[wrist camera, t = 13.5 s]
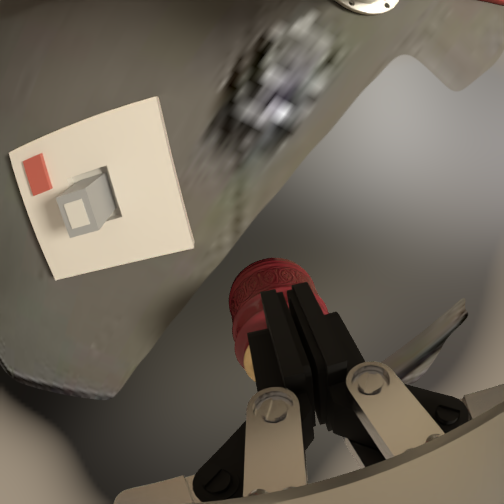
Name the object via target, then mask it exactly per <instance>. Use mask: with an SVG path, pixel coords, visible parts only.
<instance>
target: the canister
mask: <svg viewBox="0 0 504 504" xmlns="http://www.w3.org/2000/svg"><path fill="white" fill-rule="evenodd" d="M303 282H308V284H309V286H310V288H311V290H312V292H313V294H314V296H315V298H316V300H317V302H318V303H319V305H320V307H321V309H322V311H323V313H324V315H325V314H329V313H328V310H327V307H326V305H325V303H324V302H323V300H322V299H321V298H320V297H319V295H318V293H317V291H316V289H315V286H314V283H313V281H312V280H311V277H310V276H309V274H308V273H307V272H306V271H305V270H304V269H303V268H301V267H300V266H299V265H298V264H296V263H295V262H292V261H290V260H287V259H282V258H267V259H263V260H259V261H257V262H254V263H252V264H250V265H249V266H247V267H246V268H245V269H244V270H242V271H241V272H240V273H239V275H238V276H237V277H236V278H235V280H234V282H233V284H232V287H231V291H230V295H229V308H230V312H231V315H232V322H233V327H232V334H233V338H234V341H235V355H236V358H237V360H238V362H239V363H240V365H241V366H242V367H243V368H244V369H245V370H246V372H247V374H248V375H249V377H250V378H251V379H252V380H254V381H255V382H256V380H255V375H254V369H253V364H252V359H251V353H250V348H249V342H248V337H247V333H249V332H254V331H259V330H263V329H267V325H266V320H265V315H264V310H263V305H262V300H261V294H260V292H263V291H268V290H272V289H276V292H277V293H278V292H283V295H284V297H285V300H286V303H287V305H288V298H287V290H291V289H292V285H294V284H298V283H303ZM288 308H289V305H288Z"/></svg>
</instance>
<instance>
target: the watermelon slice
mask: <svg viewBox="0 0 504 504" xmlns="http://www.w3.org/2000/svg"><path fill="white" fill-rule="evenodd" d="M479 1H484V2H489V3H494V4H498V5H503V6H504V0H479Z"/></svg>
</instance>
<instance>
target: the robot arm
mask: <svg viewBox="0 0 504 504" xmlns="http://www.w3.org/2000/svg"><path fill="white" fill-rule="evenodd" d="M335 1H336V2H337V3H339V4H340V5H342V6H343V7H345V8H347V9H349V10H351V11H353V12H356V13H359V14H364V15H378V14H383V13H385V12H388V11H390V10H391V9H393V8H394V7H395V6H396V5H397V3H398V2H399V0H335ZM349 3H350V4H349ZM260 294H261V300H262V305H263V310H264V315H265V320H266V325H267V329H263V330H259V331H254V332H249V333H247V337H248V342H249V348H250V353H251V359H252V364H253V369H254V375H255V380H256V386H257V391H258V392H257V393H256V394H255V395H254V396H252V398H251V399H250V401H249V402H248V405H247V412H246V421H245V422H244V423H243V424H242V425H241V427H240V428H239V429H238V430H237V431H236V432H235V433H234V434H233V435H232V436H231V437H230V439H228V441H227V442H226V443H225V444H224V445H223V446H222V447H221V448H220V449H219V450H218V451H217V452H216V453H215V454H214V455H213V456H212V457H211V458H210V459H209V460H208V461H207V462H206V463H205V464H204V465H203V466H202V467H201V468H200V469H199V470H198V472H197V473H196V474H195V475H192V476H189V477H184V475H183V476H180V477H176V478H172V479H168V480H165V481H161V482H157V483H153V484H149V485H144V486H140V487H135V488H131V489H127V490H125V491H122V492H121V493H120V494H119V495H118V496H117V497H116V499H115V501H114V504H504V384H502V385H498V386H495V387H492V388H489V389H485V390H482V391H478V392H475V393H471V394H467V395H464V397H463V398H462V399H457V398H455V397H452V396H448V395H444V394H440V393H436V392H432V391H428V390H425V389H421V388H417V387H413V386H410V385H406V384H403V382H402V381H401V380H400V379H399V378H398V377H397V375H396V374H395V373H394V372H393V371H392V370H391V369H390V368H389V367H388V366H387V365H385V364H382V363H380V362H374V361H371V362H365V361H364V359H363V357H362V355H361V353H360V351H359V350H358V348H357V346H356V344H355V342H354V340H353V339H352V337H351V335H350V334H349V331H348V330H347V328H346V326H345V324H344V323H343V321H342V319H341V317H340V316H339V314H338V313H337V312H333V313H329V314H325V315H324V313H323V311H322V309H321V307H320V305H319V303H318V302H317V300H316V298H315V296H314V294H313V292H312V290H311V288H310V286H309V284H308V282H303V283H298V284H294V285H292V289H291V290H287V298H288V305H289V308H288V305H287V303H286V300H285V297H284V295H283V292H278V293H277V292H276V289H272V290H268V291H263V292H260ZM315 412H316V414H317V418H318V420H319V423H320V425H321V424H325V423H326V426H327V429H328V431H331V430H333V433H335V434H337V435H340V436H342V437H343V439H344V442H345V444H346V446H347V447H348V449H349V451H350V452H351V454H352V456H353V457H354V459H355V460H356V462H357V464H358V466H359V467H360V469H359V470H356V471H353V472H350V473H347V474H343V475H340V476H337V477H333V478H330V479H326V480H323V481H319V482H315V483H311V484H308V479H307V466H306V454H305V450H306V449H307V448H308V446H309V445H310V443H311V442H312V441H313V439H314V430H313V427H314V426H316V424H315Z"/></svg>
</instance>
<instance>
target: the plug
mask: <svg viewBox="0 0 504 504" xmlns="http://www.w3.org/2000/svg"><path fill="white" fill-rule="evenodd" d="M56 200H57V203H58V206H59V209H60V212H61V215H62V218H63V221H64V223H65V226H66V229H67V232H68V234H69V237H70V238H72V237H76V236H79V235H83V234H87V233H90V232H94V231H98V230H100V228H101V227H102V226H103V224H104V223H105V222H106V220H107V219H108V218H109V216H110V215H111V214H112V213H113V211H114V210H115V209H116V208H117V207H116V204H115V200H114V197H113V194H112V190H111V187H110V184H109V180H108V176H107V173H106V172H104V173H101V174H98V175H95V176H92V177H88V178H85V179H82V180H80V181H78V182H77V183H75V184H74V185H73V186H71V187H70V188H68V189H67V190H66V191H64V192H63V193H62V194H60V195H59V196H58V197H56Z"/></svg>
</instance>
